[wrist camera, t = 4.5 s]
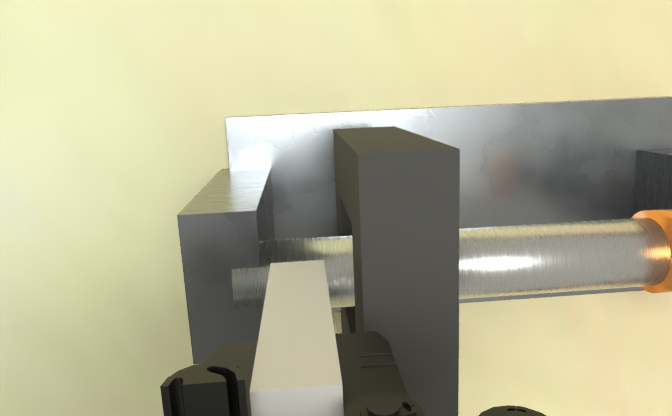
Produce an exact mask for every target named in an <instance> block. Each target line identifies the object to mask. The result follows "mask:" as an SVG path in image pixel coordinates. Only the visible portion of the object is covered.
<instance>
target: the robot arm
mask: <svg viewBox="0 0 672 416" xmlns="http://www.w3.org/2000/svg"><path fill="white" fill-rule="evenodd" d="M160 388H161V395H162V403H163V411H164V416H425V414H424V412H423V410H422V409H421V407H420V406H419V405H418V403H417V402H415V401H413V400H412V399H410V398H409V397H408V394H407V392H406V389H405V386H404V383H403V380H402V378H401V375H400V372H399V369H398V366H397V365H396V361H395V358H394V355H393V353H392V350H391V347H390V344H389V341H388V340H387V339H385V338H384V337H383V336H381V335H380V334H379V333H377V332H376V331H370V332H356V333H343V334H335V331H334V324H333V317H332V311H331V304H330V297H329V290H328V284H327V277H326V270H325V263H324V260H313V261H297V262H282V263H271V264H270V270H269V276H268V282H267V288H266V294H265V300H264V307H263V313H262V319H261V325H260V331H259V337H258V341H257V342H244V343H230V344H220V345H219V346H218V347H217V348H216V349H215V350H214V351H213V352H212V353H210V354H209V355H208V356H207V359H206V362H205V363H204V364H198V365H193V366H190V367H188V368H185V369H182V370H179V371H178V372H176V373H174V374H173V375H171V376H170V377H168V378H167V379H166V380H165V382H164V383H163V384H162V385H161V386H160ZM479 416H546V415H544V414H542V413H540V412H537V411H534V410H531V409H528V408H525V407H520V406H500V407H493V408H490V409H488V410H486V411H483V412H482V413H481V414H480V415H479Z"/></svg>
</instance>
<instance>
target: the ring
mask: <svg viewBox="0 0 672 416" xmlns="http://www.w3.org/2000/svg"><path fill="white" fill-rule="evenodd" d="M333 140H334V163H335V185H336V208H337V231H338V236H350V235H352V242H353V268H354V295H355V306H352V307H341V322H342V334H343V333H356V332H370V331H376V332H377V333H379V334H380V335H381V336H383V337H384V338H385V339H387V340H388V341H389V344H390V347H391V350H392V353H393V355H394V358H395V361H396V365H397V366H398V369H399V372H400V375H401V378H402V380H403V383H404V386H405V389H406V392H407V394H408V397H409V398H410V399H412V400H413V401H415V402H417V403H418V405H419V406H420V407H421V409H422V410H423V412H424V414H425V416H458V358H459V206H460V149H458V148H456V147H453V146H450V145H447V144H444V143H441V142H438V141H435V140H432V139H430V138H427V137H424V136H421V135H418V134H415V133H412V132H409V131H407V130H404V129H401V128H398V127H395V126H387V127H367V128H346V129H333Z"/></svg>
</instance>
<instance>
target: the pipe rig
mask: <svg viewBox="0 0 672 416" xmlns="http://www.w3.org/2000/svg"><path fill="white" fill-rule="evenodd" d="M225 119H226V130H227V142H228V153H229V165H230V169H222V170H221V171H220V172H219V173H218V174H217V175H216V176H215V177H214V178H213V179H212V180H211V181H210V182H209V183H208V184H207V185H206V186H205V187H204V188H203V189H202V190H201V191H200V192H199V193H198V194H197V195H196V196H195V197H194V198H193V199H192V201H191V202H190V203H189V204H188V205H187V206H186V207H185V208H184V209H183V210H182V211H181V212H180V213H179V214H178V215H177V217H178V226H179V235H180V245H181V254H182V263H183V272H184V281H185V290H186V299H187V308H188V317H189V327H190V336H191V345H192V354H193V363H194V364H201V363H205V362H206V359H207V356H208V355H209V354H210V353H212V352H213V351H214V350H215V349H216V348H217V347H218V346H219V345H220V344H230V343H244V342H257V341H258V337H259V331H260V325H261V319H262V313H263V307H264V300H265V294H266V288H267V282H268V276H269V270H270V264H271V263H282V262H297V261H313V260H324V263H325V270H326V277H327V284H328V290H329V297H330V304H331V311H332V312H339V311H341V307H352V306H355V295H354V268H353V242H352V235H350V236H338V231H337V208H336V185H335V163H334V140H333V129H346V128H367V127H387V126H395V127H398V128H401V129H404V130H407V131H409V132H412V133H415V134H418V135H421V136H424V137H427V138H430V139H432V140H435V141H438V142H441V143H444V144H447V145H450V146H453V147H456V148H458V149H460V206H459V303H468V302H483V301H497V300H512V299H526V298H540V297H555V296H569V295H583V294H598V293H612V292H626V291H641V290H645V291H647V292H651V293H660V292H672V97H648V98H627V99H605V100H584V101H562V102H541V103H519V104H498V105H477V106H455V107H434V108H412V109H391V110H370V111H348V112H327V113H305V114H284V115H262V116H241V117H227V118H225Z"/></svg>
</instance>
